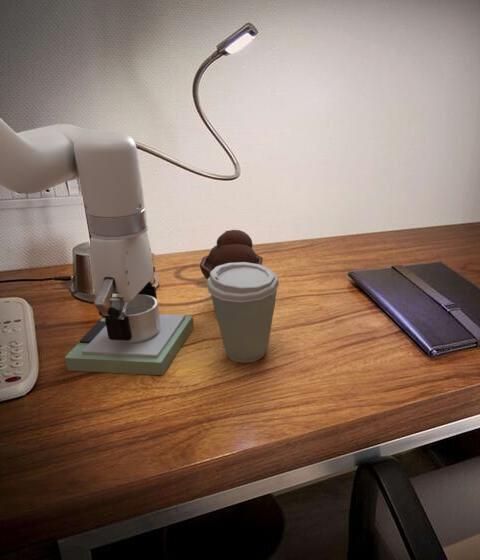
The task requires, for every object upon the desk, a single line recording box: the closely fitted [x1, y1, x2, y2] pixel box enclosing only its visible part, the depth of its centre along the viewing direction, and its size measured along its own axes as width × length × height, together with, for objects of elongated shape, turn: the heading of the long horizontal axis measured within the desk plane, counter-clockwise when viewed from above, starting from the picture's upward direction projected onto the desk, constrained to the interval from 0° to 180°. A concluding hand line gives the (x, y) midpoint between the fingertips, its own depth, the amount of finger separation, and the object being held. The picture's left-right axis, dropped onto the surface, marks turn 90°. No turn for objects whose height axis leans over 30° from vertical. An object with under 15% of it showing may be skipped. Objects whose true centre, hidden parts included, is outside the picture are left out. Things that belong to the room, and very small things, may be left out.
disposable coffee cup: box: [206, 262, 280, 364], centre depth 83 cm, size 11×11×15 cm
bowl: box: [111, 294, 161, 343], centre depth 83 cm, size 7×7×5 cm
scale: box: [64, 313, 195, 376], centre depth 85 cm, size 14×14×3 cm
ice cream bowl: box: [199, 229, 264, 281], centre depth 96 cm, size 11×11×15 cm
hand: (134, 322), depth 83 cm, fingers open, 9 cm apart
